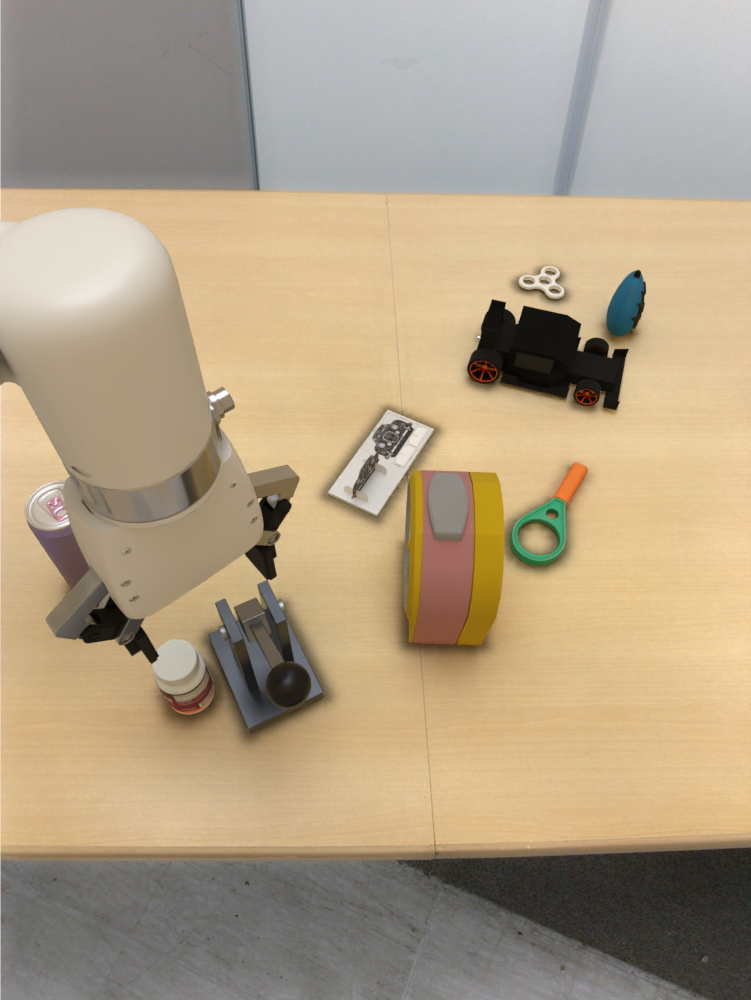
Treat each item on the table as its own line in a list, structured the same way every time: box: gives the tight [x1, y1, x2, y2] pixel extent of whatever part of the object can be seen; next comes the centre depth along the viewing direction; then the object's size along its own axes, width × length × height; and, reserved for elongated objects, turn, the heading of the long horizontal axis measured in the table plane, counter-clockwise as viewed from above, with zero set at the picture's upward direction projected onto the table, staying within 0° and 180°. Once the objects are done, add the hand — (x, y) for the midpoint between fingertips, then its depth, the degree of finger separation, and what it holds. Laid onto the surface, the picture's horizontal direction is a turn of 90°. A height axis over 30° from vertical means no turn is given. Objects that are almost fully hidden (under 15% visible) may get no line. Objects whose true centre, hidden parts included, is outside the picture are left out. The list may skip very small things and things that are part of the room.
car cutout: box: [327, 409, 435, 518], centre depth 89 cm, size 15×7×4 cm, turn 151°
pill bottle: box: [151, 638, 216, 715], centre depth 70 cm, size 5×5×8 cm
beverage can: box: [24, 479, 100, 605], centre depth 74 cm, size 6×6×15 cm
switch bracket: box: [207, 579, 325, 734], centre depth 70 cm, size 11×8×13 cm
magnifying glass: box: [509, 461, 589, 567], centre depth 86 cm, size 15×6×2 cm, turn 147°
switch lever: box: [233, 597, 311, 709], centre depth 62 cm, size 13×4×4 cm, turn 27°
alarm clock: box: [403, 469, 505, 646], centre depth 73 cm, size 15×8×18 cm, turn 178°
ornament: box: [605, 269, 647, 338], centre depth 101 cm, size 8×5×10 cm, turn 160°
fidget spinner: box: [518, 265, 565, 300], centre depth 110 cm, size 7×6×1 cm
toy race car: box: [466, 298, 630, 411], centre depth 97 cm, size 10×20×7 cm, turn 72°
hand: (204, 604), depth 52 cm, fingers open, 9 cm apart
